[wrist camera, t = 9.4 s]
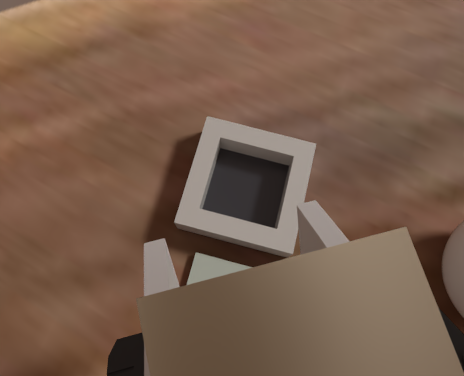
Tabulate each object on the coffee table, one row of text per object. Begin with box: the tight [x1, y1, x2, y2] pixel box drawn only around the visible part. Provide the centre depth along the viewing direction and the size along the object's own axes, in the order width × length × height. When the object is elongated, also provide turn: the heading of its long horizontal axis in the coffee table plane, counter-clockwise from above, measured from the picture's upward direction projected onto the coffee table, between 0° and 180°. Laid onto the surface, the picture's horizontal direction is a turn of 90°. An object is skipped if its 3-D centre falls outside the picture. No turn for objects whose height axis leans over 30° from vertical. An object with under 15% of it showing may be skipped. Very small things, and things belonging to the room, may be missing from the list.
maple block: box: [136, 227, 464, 376], centre depth 11 cm, size 5×5×11 cm
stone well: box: [174, 116, 316, 258], centre depth 30 cm, size 9×9×2 cm
